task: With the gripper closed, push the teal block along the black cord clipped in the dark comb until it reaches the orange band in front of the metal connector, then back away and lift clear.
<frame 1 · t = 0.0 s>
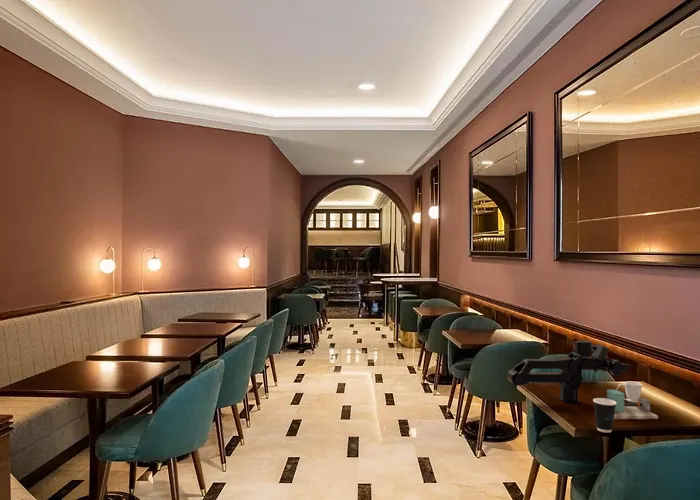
hand: (624, 363, 226), 17 cm above the table, tool horizontal, fingers open, 9 cm apart
cord board: (625, 413, 209), on the table
teal block: (615, 400, 208), point 5 cm above the table, slide at 0.0 cm
cup: (629, 400, 226), on the table
dixie cup: (604, 430, 189), on the table
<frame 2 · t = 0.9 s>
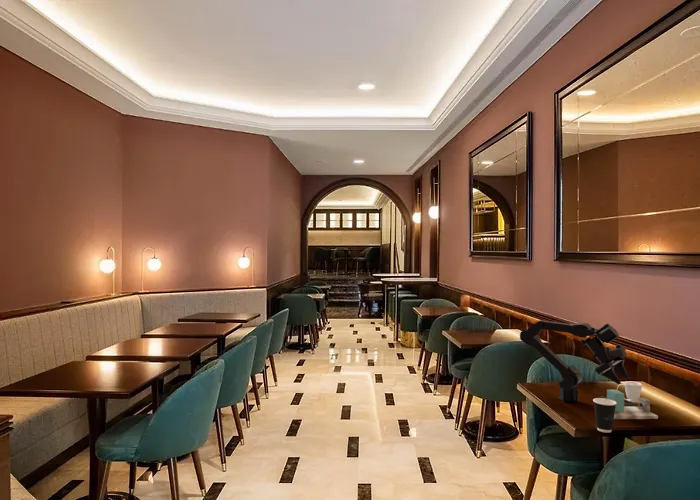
hand: (624, 381, 210), 13 cm above the table, tool tilted 40°, fingers open, 9 cm apart
nothing on the table moved.
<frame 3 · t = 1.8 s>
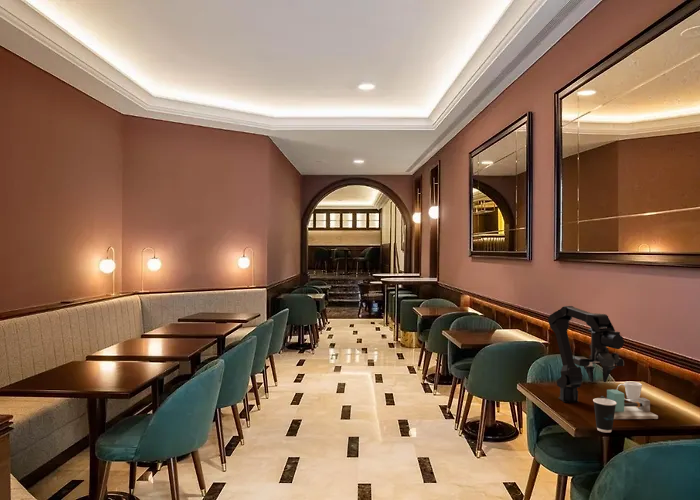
hand: (598, 382, 208), 13 cm above the table, tool pointing down, fingers open, 5 cm apart
nothing on the table moved.
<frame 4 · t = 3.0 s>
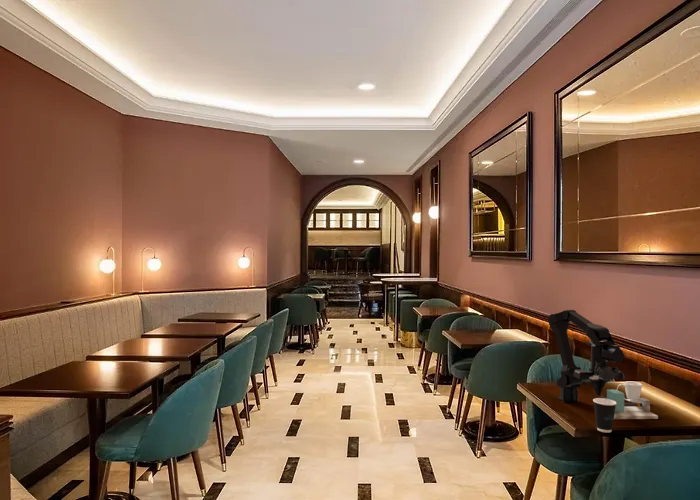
hand: (598, 395, 208), 8 cm above the table, tool pointing down, fingers closed
nothing on the table moved.
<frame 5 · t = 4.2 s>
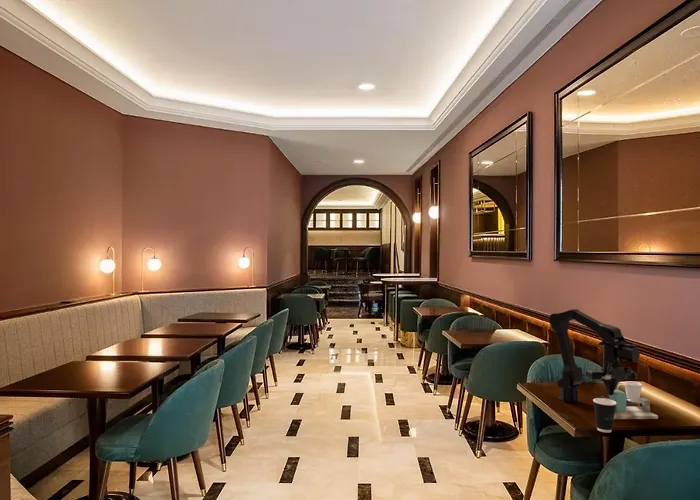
hand: (610, 395, 208), 8 cm above the table, tool pointing down, fingers closed
teal block: (617, 400, 208), point 5 cm above the table, slide at 0.9 cm, touching gripper
everything else where it was.
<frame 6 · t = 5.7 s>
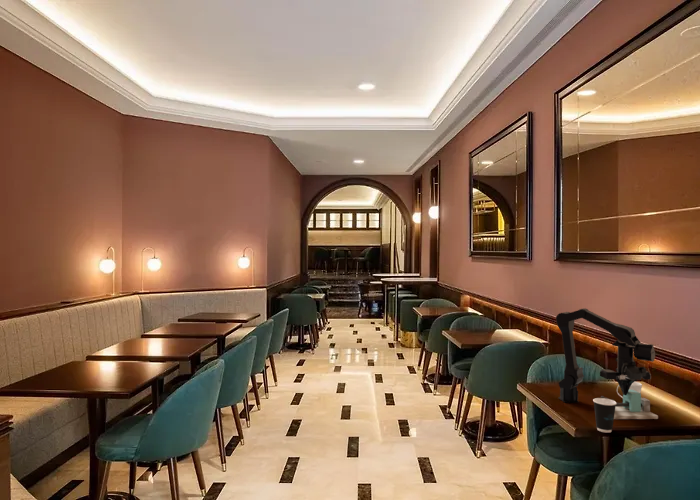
hand: (624, 395, 208), 8 cm above the table, tool pointing down, fingers closed
teal block: (631, 400, 209), point 5 cm above the table, slide at 7.0 cm, touching gripper
everything else where it was.
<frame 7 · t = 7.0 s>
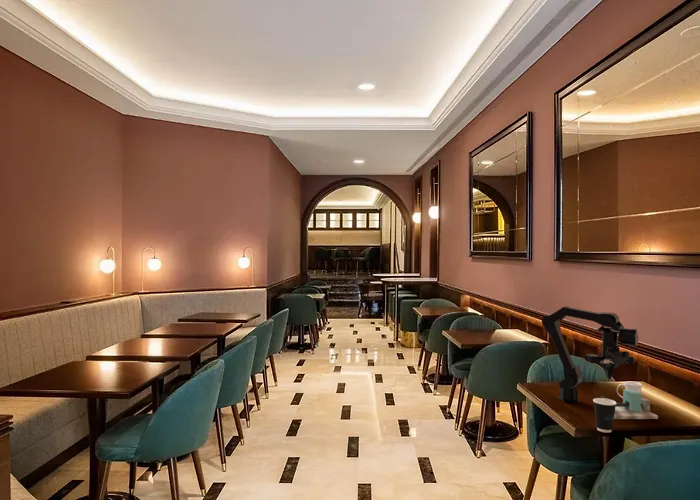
hand: (609, 378, 214), 13 cm above the table, tool pointing down, fingers closed
teal block: (631, 400, 209), point 5 cm above the table, slide at 7.0 cm
everything else where it was.
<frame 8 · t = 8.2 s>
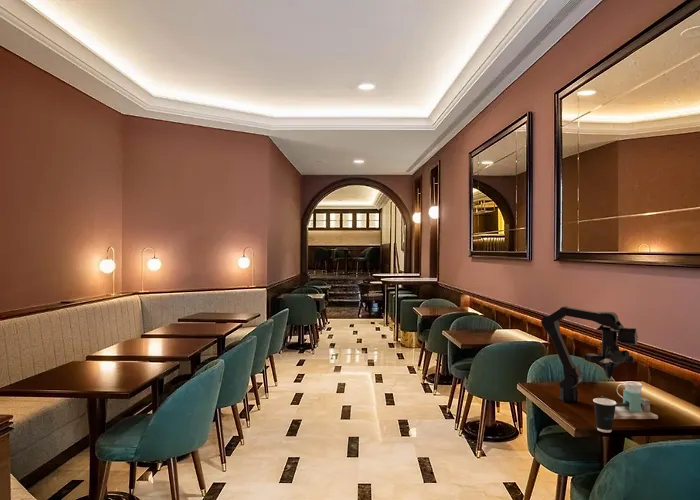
hand: (608, 378, 214), 13 cm above the table, tool pointing down, fingers closed
nothing on the table moved.
at the end: teal block slide at 7.0 cm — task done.
